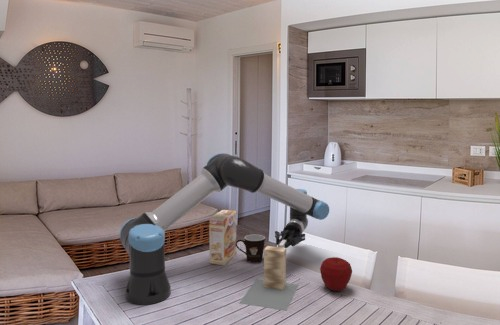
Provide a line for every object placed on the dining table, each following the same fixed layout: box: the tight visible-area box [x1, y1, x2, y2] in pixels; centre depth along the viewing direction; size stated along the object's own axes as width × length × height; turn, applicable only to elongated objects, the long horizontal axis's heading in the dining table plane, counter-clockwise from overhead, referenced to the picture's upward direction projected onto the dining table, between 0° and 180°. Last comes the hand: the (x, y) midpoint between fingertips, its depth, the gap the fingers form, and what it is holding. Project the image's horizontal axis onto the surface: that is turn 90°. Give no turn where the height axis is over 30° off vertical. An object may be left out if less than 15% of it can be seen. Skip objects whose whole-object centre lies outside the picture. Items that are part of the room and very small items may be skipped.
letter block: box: [263, 245, 287, 290], centre depth 146 cm, size 7×4×14 cm, turn 72°
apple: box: [319, 256, 353, 292], centre depth 145 cm, size 11×11×12 cm
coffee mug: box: [236, 234, 266, 264], centre depth 173 cm, size 12×9×10 cm
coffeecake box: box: [208, 209, 238, 266], centre depth 174 cm, size 15×7×20 cm, turn 162°
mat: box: [238, 278, 300, 311], centre depth 141 cm, size 16×20×1 cm
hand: (280, 248), depth 152 cm, fingers closed
